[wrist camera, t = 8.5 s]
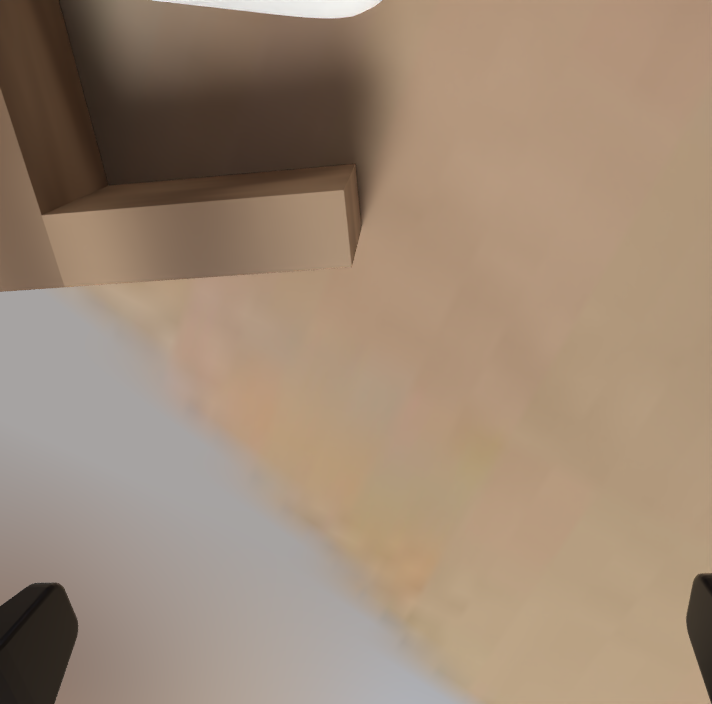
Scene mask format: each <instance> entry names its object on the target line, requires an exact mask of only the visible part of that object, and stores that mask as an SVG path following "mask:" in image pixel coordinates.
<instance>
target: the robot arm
mask: <svg viewBox="0 0 712 704" xmlns="http://www.w3.org/2000/svg"><path fill="white" fill-rule="evenodd" d="M686 623H687V630H688V634H689V638H690V641H691V644H692V647H693V650H694V653H695V656H696V659H697V662H698V665H699V668H700V671H701V674H702V677H703V680H704V683H705V686H706V689H707V692H708V695H709V698H710V701H711V704H712V573H704V574H698V575H697V576H696V577H695V578H694V581H693V585H692V590H691V595H690V600H689V605H688V610H687V616H686ZM77 633H78V621H77V618H76V615H75V613H74V611H73V608H72V606H71V603H70V601H69V598H68V596H67V594H66V592H65V589H64V587H63V586H62V585H60V584H59V583H34V584H31V585H29V586H28V587H26V588H25V589H23V590H22V591H20V592H19V593H18V594H17V595H15V596H14V597H12V598H11V599H9V600H8V601H7V602H5V603H4V604H3V605H1V606H0V704H54V703H55V700H56V697H57V694H58V691H59V688H60V686H61V682H62V679H63V677H64V674H65V671H66V668H67V665H68V662H69V659H70V656H71V653H72V650H73V647H74V644H75V641H76V638H77Z"/></svg>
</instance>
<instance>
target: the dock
mask: <svg viewBox="0 0 712 704" xmlns="http://www.w3.org/2000/svg"><path fill="white" fill-rule="evenodd" d="M360 232H361V217H360V207H359V196H358V185H357V174H356V164H347V165H336V166H325V167H313V168H302V169H291V170H279V171H268V172H256V173H245V174H234V175H222V176H211V177H200V178H188V179H177V180H166V181H154V182H143V183H132V184H120V185H109V186H108V182H107V179H106V175H105V171H104V167H103V164H102V160H101V156H100V153H99V149H98V145H97V141H96V138H95V134H94V130H93V126H92V123H91V119H90V115H89V112H88V108H87V104H86V100H85V97H84V93H83V89H82V86H81V82H80V78H79V74H78V71H77V67H76V63H75V60H74V56H73V52H72V48H71V45H70V41H69V37H68V34H67V30H66V26H65V22H64V19H63V15H62V11H61V8H60V4H59V0H0V292H2V291H17V290H31V289H46V288H60V287H74V286H89V285H103V284H117V283H132V282H146V281H160V280H175V279H189V278H203V277H218V276H232V275H246V274H261V273H275V272H289V271H304V270H318V269H332V268H347V267H352V264H353V260H354V256H355V252H356V248H357V244H358V240H359V236H360Z"/></svg>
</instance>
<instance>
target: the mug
mask: <svg viewBox="0 0 712 704" xmlns="http://www.w3.org/2000/svg"><path fill="white" fill-rule="evenodd" d="M154 1H162V2H171V3H180V4H188V5H197V6H206V7H215V8H223V9H232V10H241V11H249V12H258V13H267V14H276V15H284V16H295V17H306V18H343V17H352V16H355V15H357V14H360V13H362V12H364V11H366V10H368V9H370V8H372V7H374V6H376V5H377V4H378V3H380V2H381V1H382V0H154Z"/></svg>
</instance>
